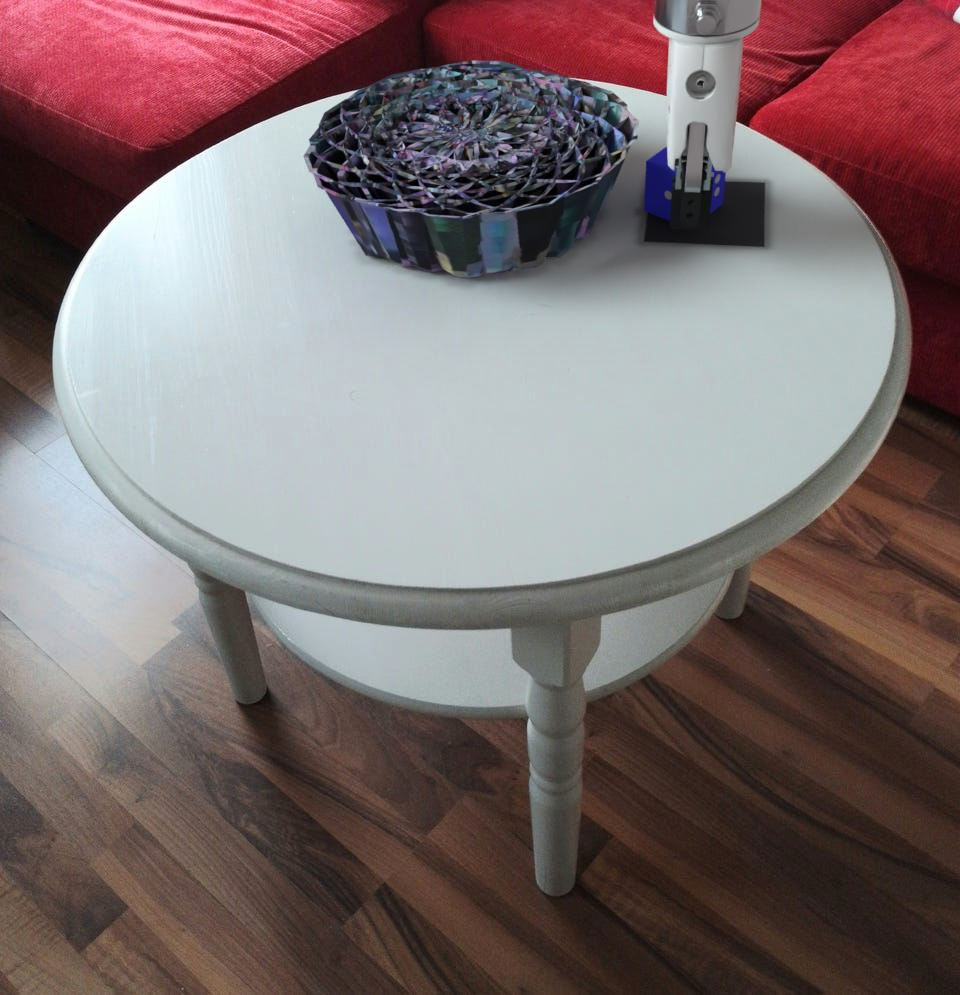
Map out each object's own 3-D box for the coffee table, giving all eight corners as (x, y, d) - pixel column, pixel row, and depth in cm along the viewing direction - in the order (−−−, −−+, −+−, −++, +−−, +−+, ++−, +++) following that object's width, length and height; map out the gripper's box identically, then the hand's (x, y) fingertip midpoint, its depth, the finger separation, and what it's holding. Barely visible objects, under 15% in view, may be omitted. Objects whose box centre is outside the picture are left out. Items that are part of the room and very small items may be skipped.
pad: (764, 183, 99) (764, 182, 98) (764, 247, 92) (764, 246, 92) (652, 179, 100) (652, 178, 100) (643, 242, 94) (643, 241, 93)
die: (642, 211, 97) (645, 160, 93) (676, 187, 99) (679, 135, 95) (690, 230, 94) (694, 178, 90) (723, 204, 96) (728, 152, 93)
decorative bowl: (404, 144, 111) (384, 47, 104) (671, 159, 101) (669, 53, 95) (284, 290, 95) (252, 186, 88) (589, 324, 86) (579, 211, 79)
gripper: (762, 49, 72) (734, 279, 86) (761, -42, 82) (736, 178, 96) (647, 47, 74) (637, 275, 87) (660, -41, 83) (649, 175, 97)
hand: (689, 224), depth 91 cm, fingers closed
